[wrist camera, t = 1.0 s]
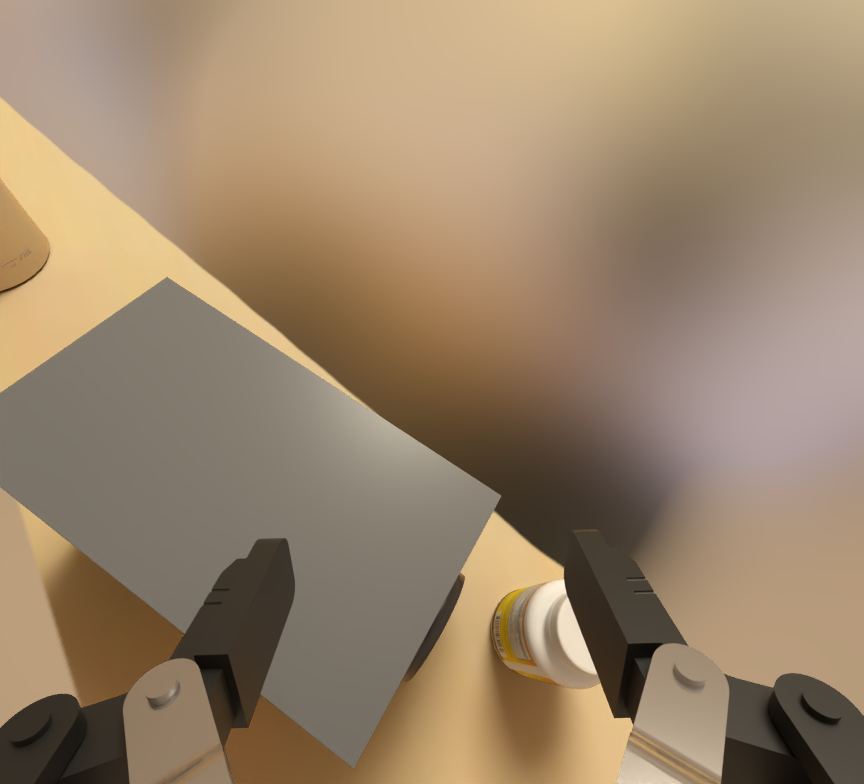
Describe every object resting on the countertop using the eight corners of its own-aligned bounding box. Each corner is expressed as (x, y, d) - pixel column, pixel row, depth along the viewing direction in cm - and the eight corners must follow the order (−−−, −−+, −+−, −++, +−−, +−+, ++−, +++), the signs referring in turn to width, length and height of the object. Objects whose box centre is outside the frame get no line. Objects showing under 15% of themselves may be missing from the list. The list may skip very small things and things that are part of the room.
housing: (101, 512, 30) (-63, 436, 18) (228, 394, 36) (167, 277, 24) (365, 716, 27) (376, 787, 15) (457, 551, 33) (518, 507, 21)
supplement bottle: (576, 635, 32) (663, 637, 23) (527, 696, 29) (603, 725, 21) (523, 572, 33) (585, 552, 24) (472, 626, 31) (521, 625, 22)
